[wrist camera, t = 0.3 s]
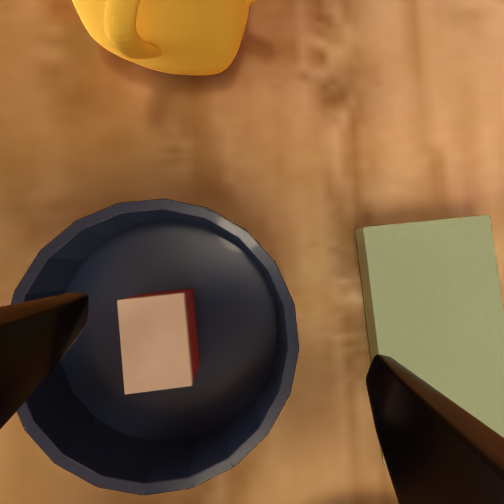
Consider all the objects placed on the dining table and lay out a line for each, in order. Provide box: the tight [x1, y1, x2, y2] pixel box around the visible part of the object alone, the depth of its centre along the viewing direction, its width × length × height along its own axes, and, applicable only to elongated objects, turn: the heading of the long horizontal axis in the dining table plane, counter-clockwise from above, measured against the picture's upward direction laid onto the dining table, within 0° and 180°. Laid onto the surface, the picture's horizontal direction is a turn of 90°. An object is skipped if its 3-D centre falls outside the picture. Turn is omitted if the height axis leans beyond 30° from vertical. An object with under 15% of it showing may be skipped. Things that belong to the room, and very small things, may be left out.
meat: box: [117, 288, 200, 394], centre depth 19 cm, size 6×4×4 cm
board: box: [355, 215, 504, 466], centre depth 22 cm, size 18×10×2 cm, turn 6°
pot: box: [11, 199, 299, 495], centre depth 20 cm, size 17×17×4 cm
